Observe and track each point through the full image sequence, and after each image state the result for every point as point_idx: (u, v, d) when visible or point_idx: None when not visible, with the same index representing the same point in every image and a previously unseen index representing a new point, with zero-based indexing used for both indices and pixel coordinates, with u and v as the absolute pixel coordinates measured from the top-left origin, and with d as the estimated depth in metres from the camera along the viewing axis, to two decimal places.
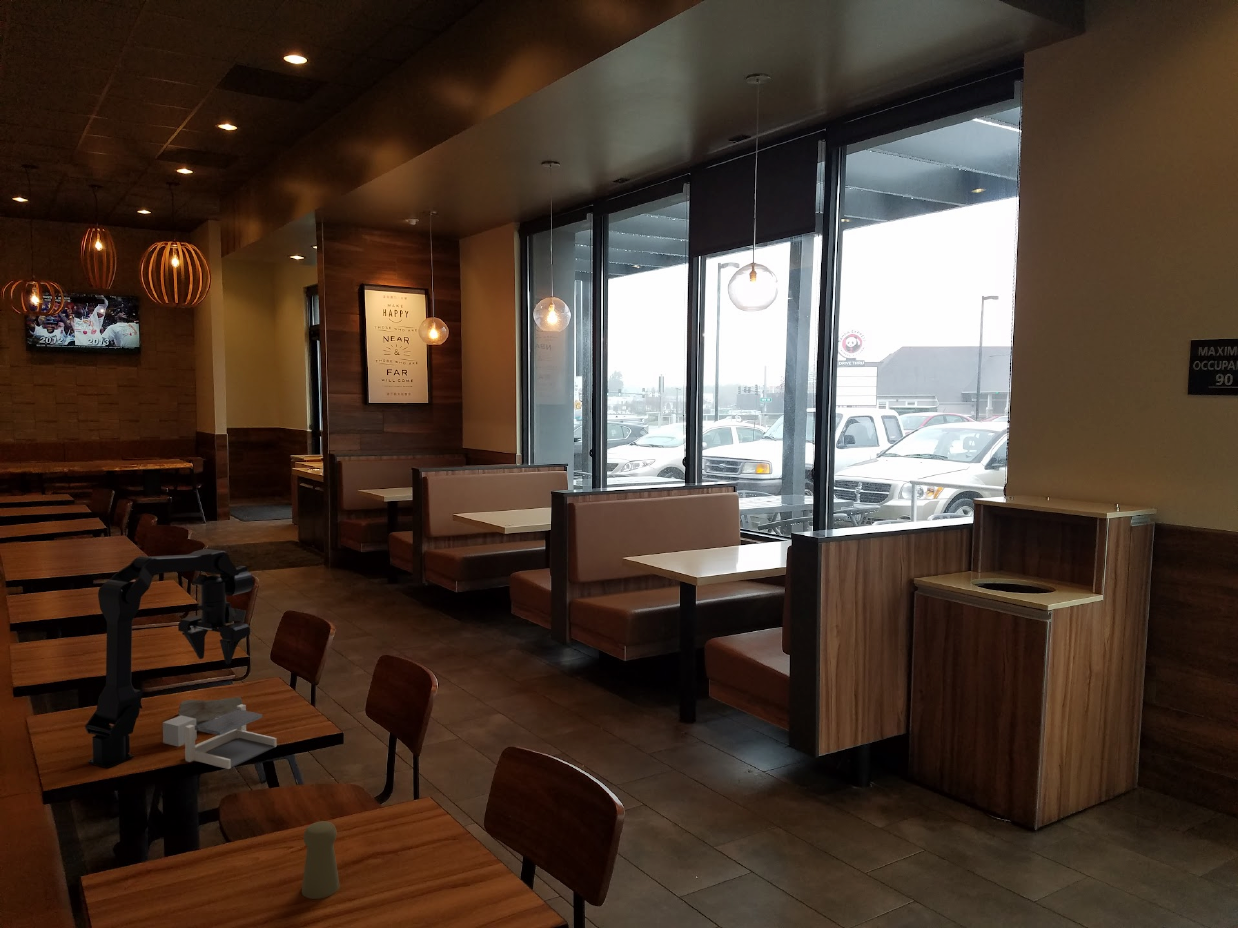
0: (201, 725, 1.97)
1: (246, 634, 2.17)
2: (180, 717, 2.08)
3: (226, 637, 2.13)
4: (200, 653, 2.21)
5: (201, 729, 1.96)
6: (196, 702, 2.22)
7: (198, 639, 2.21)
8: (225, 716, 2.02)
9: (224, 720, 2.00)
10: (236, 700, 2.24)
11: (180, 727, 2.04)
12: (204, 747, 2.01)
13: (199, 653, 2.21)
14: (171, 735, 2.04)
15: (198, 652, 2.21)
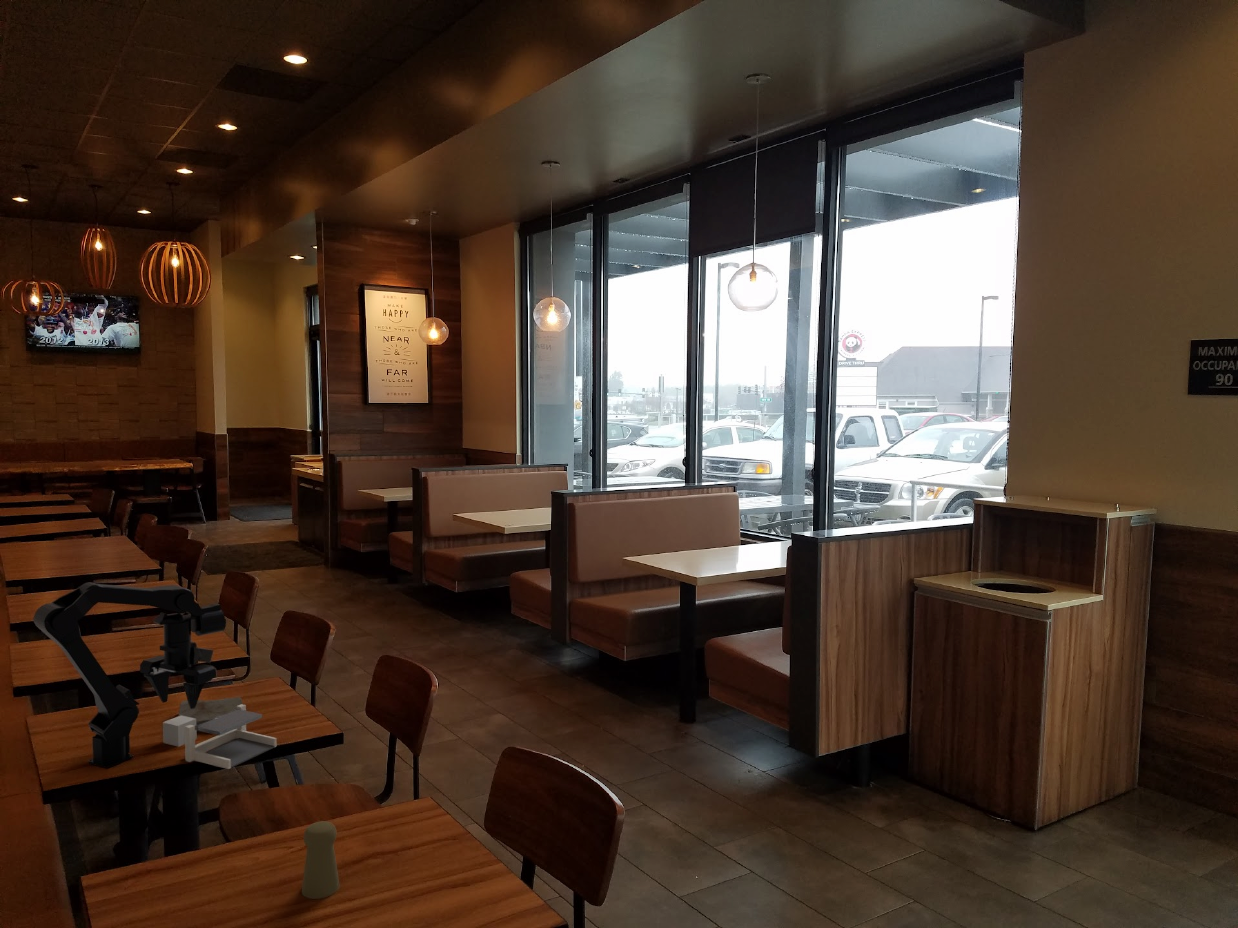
0: (201, 725, 1.97)
1: (212, 677, 2.03)
2: (180, 717, 2.08)
3: (190, 681, 2.00)
4: (163, 696, 2.07)
5: (201, 729, 1.96)
6: None
7: (161, 682, 2.07)
8: (225, 716, 2.02)
9: (224, 720, 2.00)
10: (236, 700, 2.24)
11: (180, 727, 2.04)
12: (204, 747, 2.01)
13: (162, 696, 2.07)
14: (171, 735, 2.04)
15: (161, 695, 2.07)
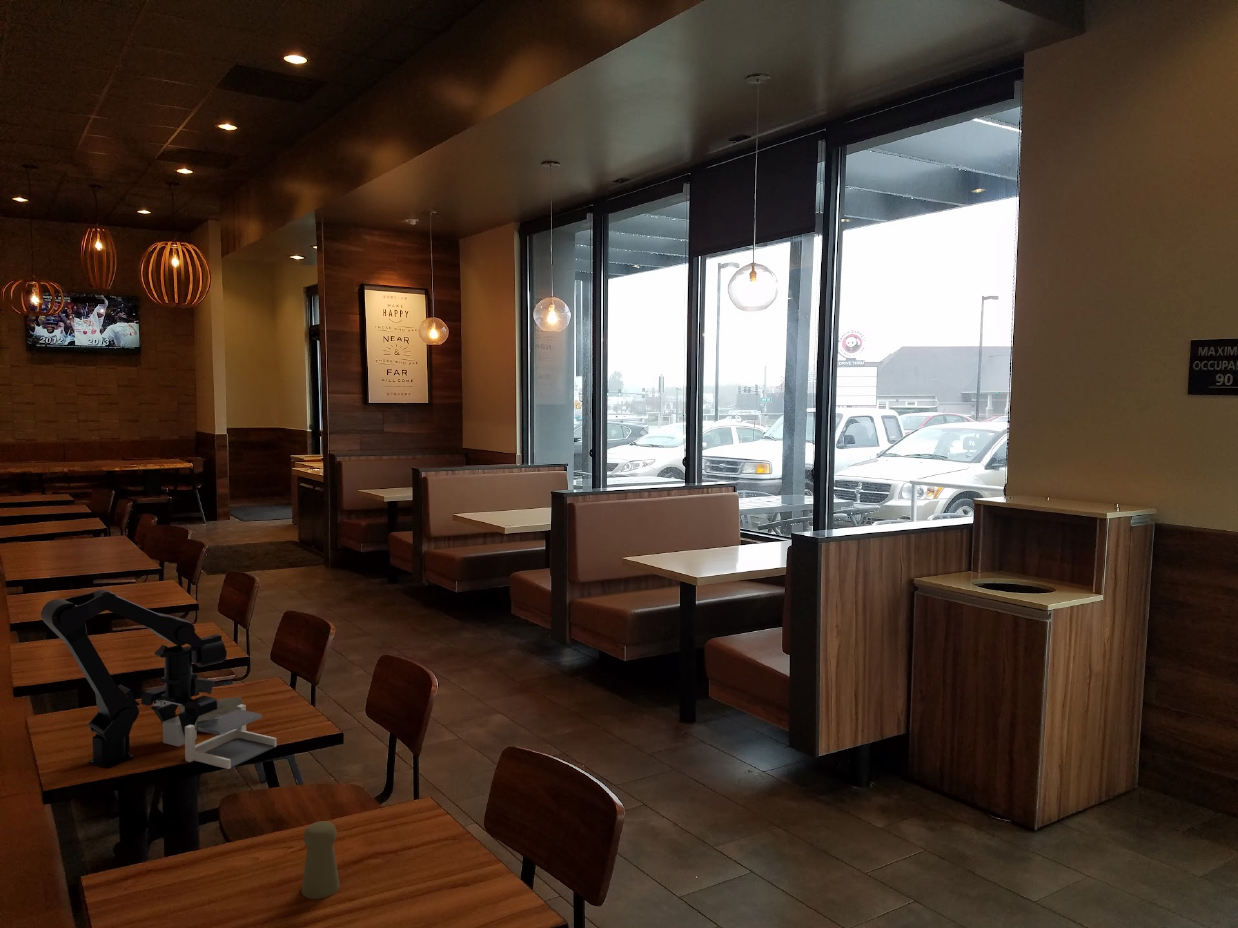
0: (201, 725, 1.97)
1: (213, 709, 2.04)
2: None
3: (191, 713, 2.00)
4: None
5: (201, 729, 1.96)
6: None
7: (168, 714, 2.07)
8: (225, 716, 2.02)
9: (224, 720, 2.00)
10: (236, 700, 2.24)
11: (180, 727, 2.04)
12: (204, 747, 2.01)
13: None
14: (171, 735, 2.04)
15: None
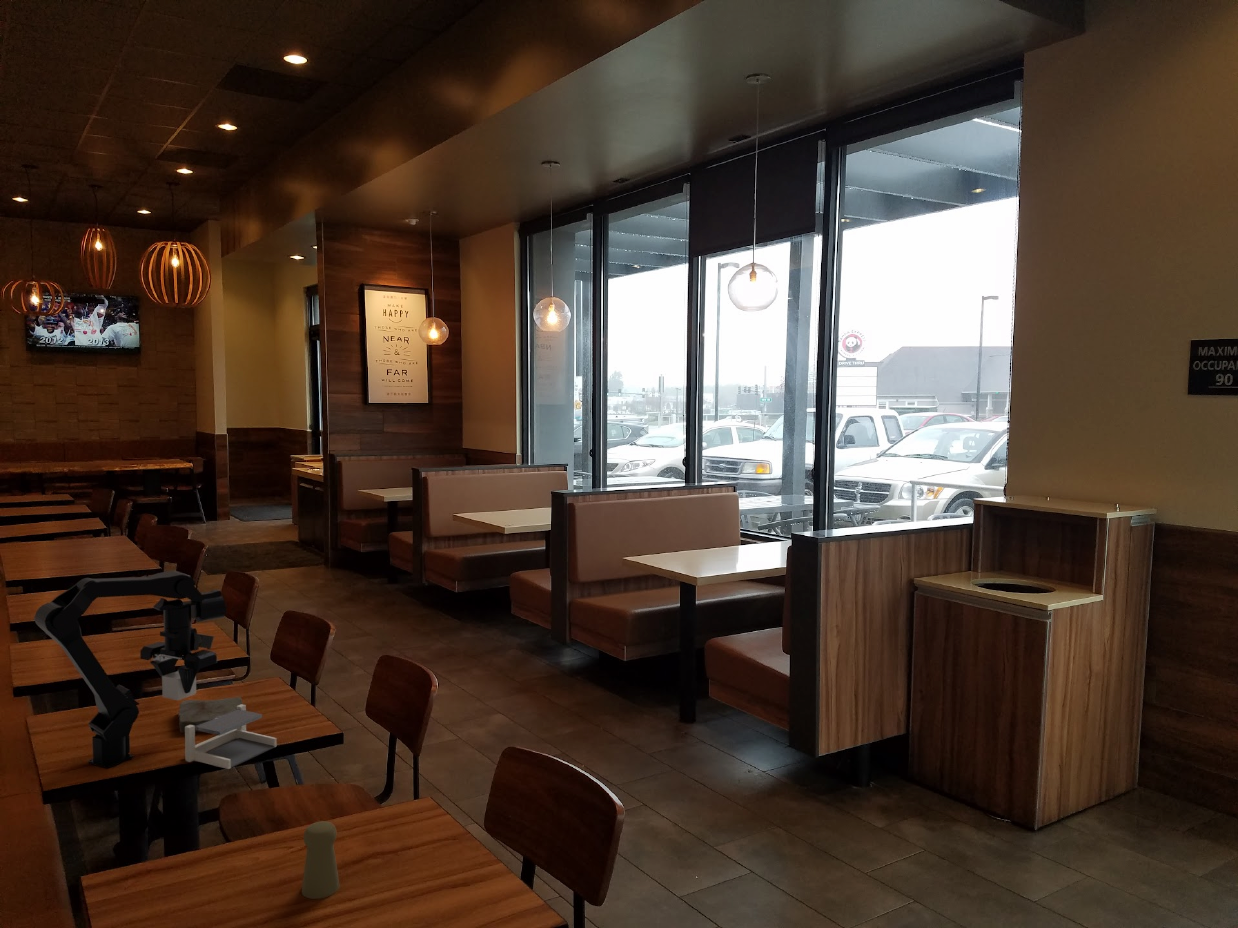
0: (201, 725, 1.97)
1: (212, 662, 2.03)
2: None
3: (190, 666, 1.99)
4: None
5: (201, 729, 1.96)
6: (196, 702, 2.22)
7: (168, 669, 2.06)
8: (225, 716, 2.02)
9: (224, 720, 2.00)
10: (236, 700, 2.24)
11: (180, 681, 2.03)
12: (204, 747, 2.01)
13: None
14: (170, 689, 2.03)
15: None
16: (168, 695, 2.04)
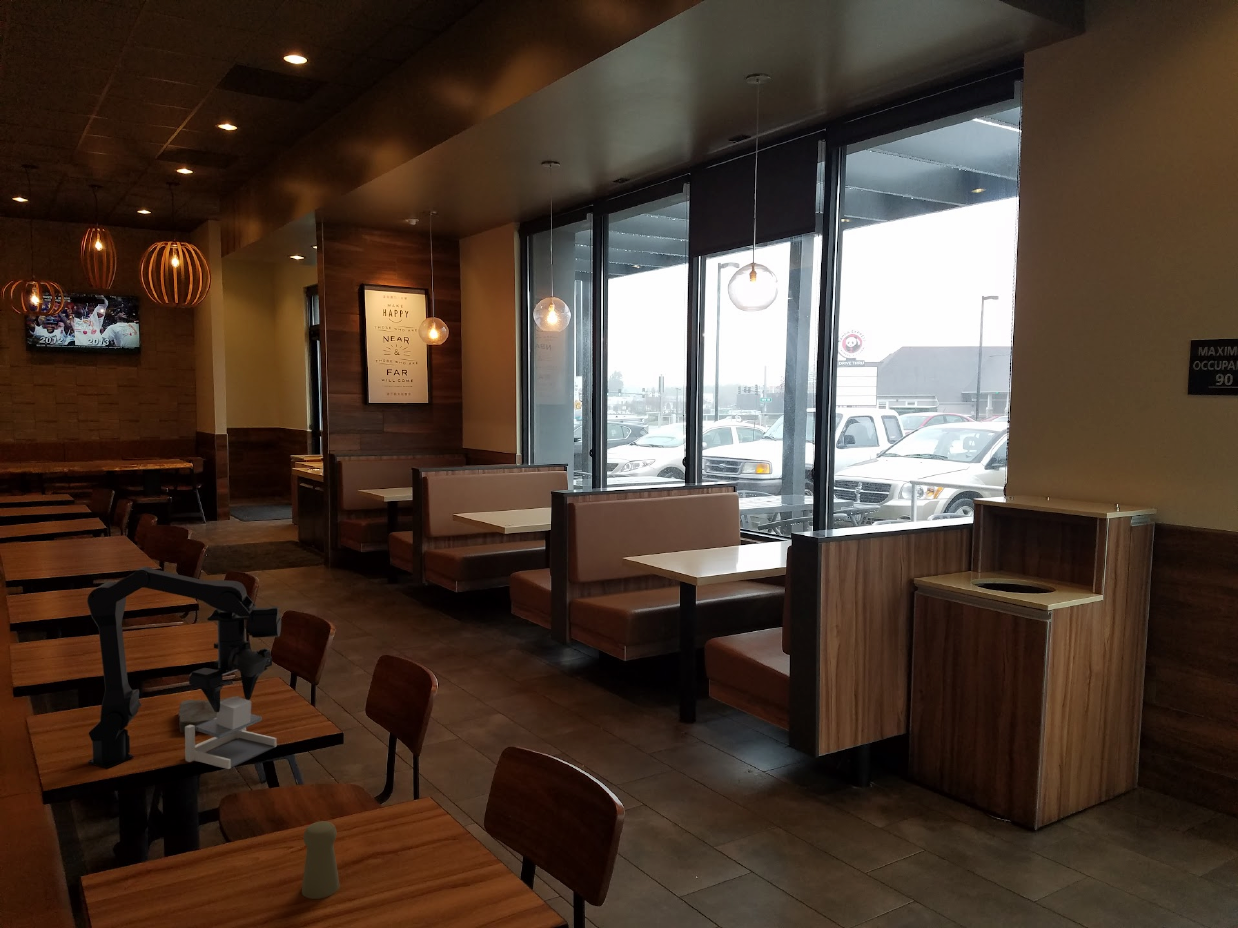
0: (201, 725, 1.97)
1: (202, 685, 1.90)
2: (244, 701, 2.00)
3: None
4: (245, 693, 2.04)
5: (201, 730, 1.96)
6: (196, 702, 2.22)
7: (247, 678, 2.04)
8: None
9: None
10: None
11: None
12: (204, 747, 2.01)
13: (245, 692, 2.04)
14: None
15: (244, 691, 2.04)
16: None
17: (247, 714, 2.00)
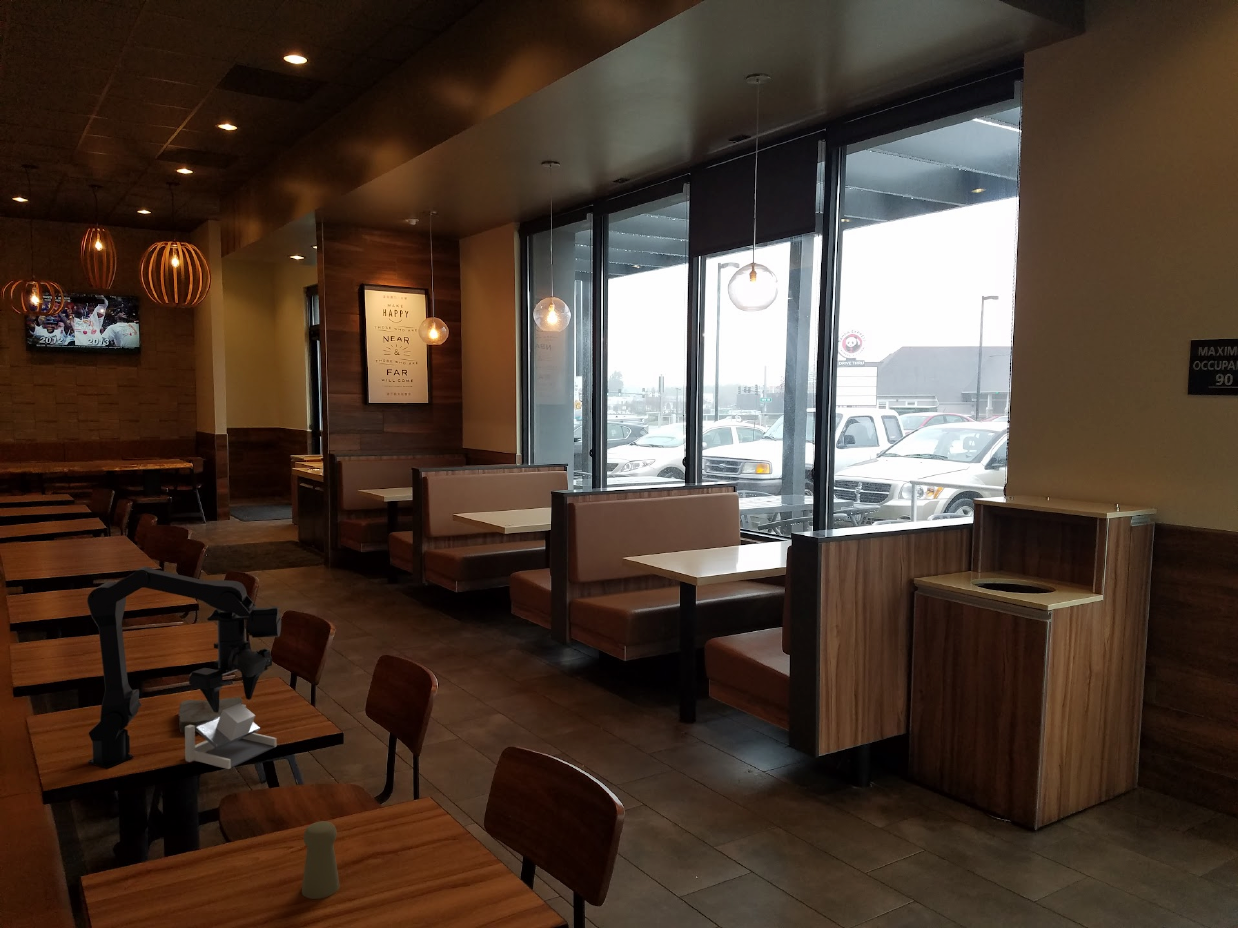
0: (201, 726, 1.97)
1: (202, 685, 1.90)
2: (248, 714, 2.00)
3: None
4: (246, 693, 2.04)
5: (200, 733, 1.96)
6: (196, 702, 2.22)
7: (248, 678, 2.04)
8: None
9: None
10: (236, 700, 2.24)
11: (223, 714, 1.98)
12: (204, 747, 2.01)
13: (246, 692, 2.04)
14: None
15: (245, 691, 2.04)
16: None
17: (248, 726, 2.00)
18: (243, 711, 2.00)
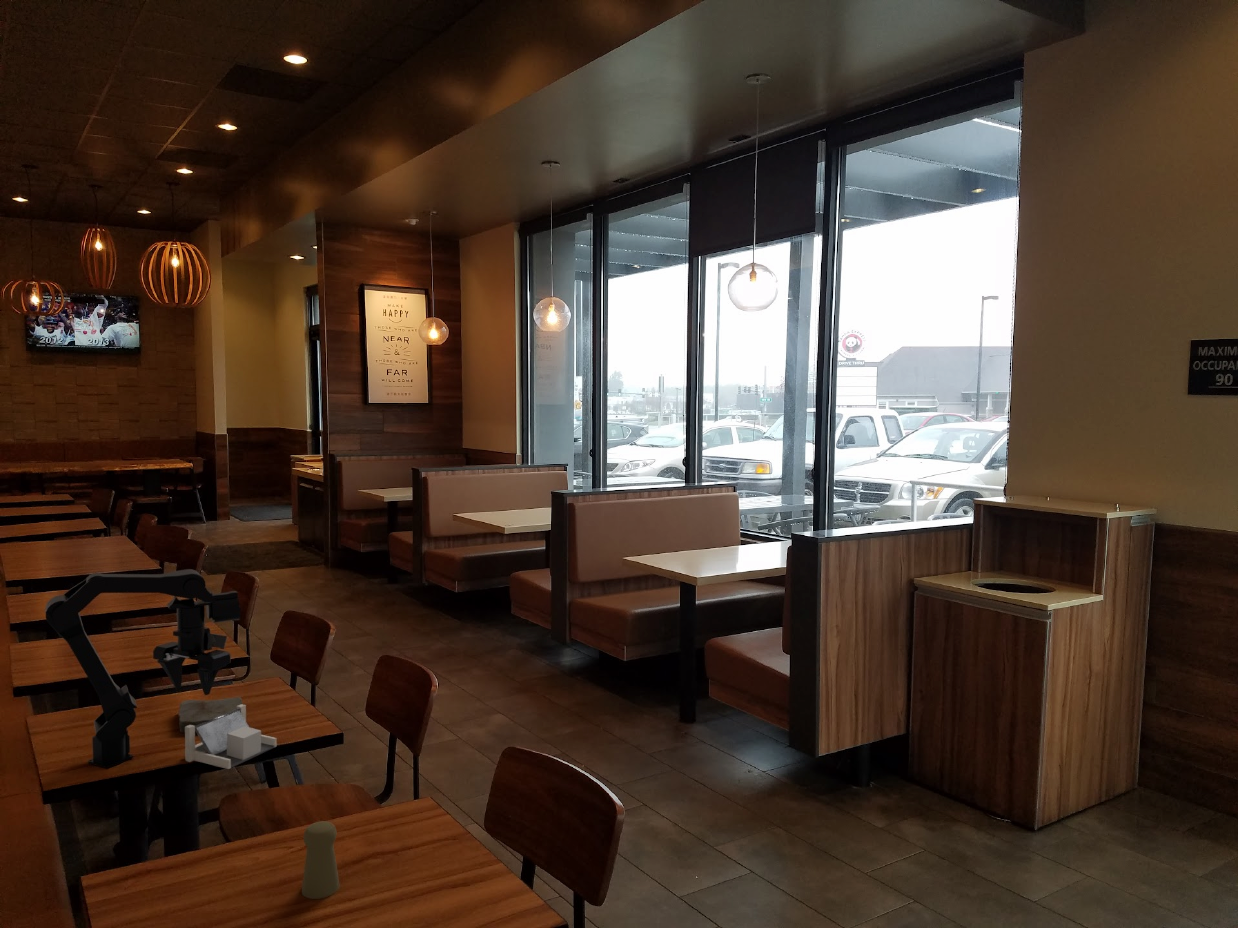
0: (201, 728, 1.97)
1: (226, 662, 2.00)
2: (257, 748, 2.00)
3: (204, 666, 1.97)
4: (177, 682, 2.05)
5: (199, 735, 1.96)
6: (196, 702, 2.22)
7: (175, 668, 2.05)
8: (224, 721, 2.03)
9: (222, 730, 2.01)
10: (236, 700, 2.24)
11: (241, 740, 1.96)
12: (204, 747, 2.01)
13: (175, 683, 2.04)
14: (242, 732, 1.99)
15: (175, 681, 2.04)
16: (240, 729, 2.00)
17: None
18: (256, 743, 1.99)
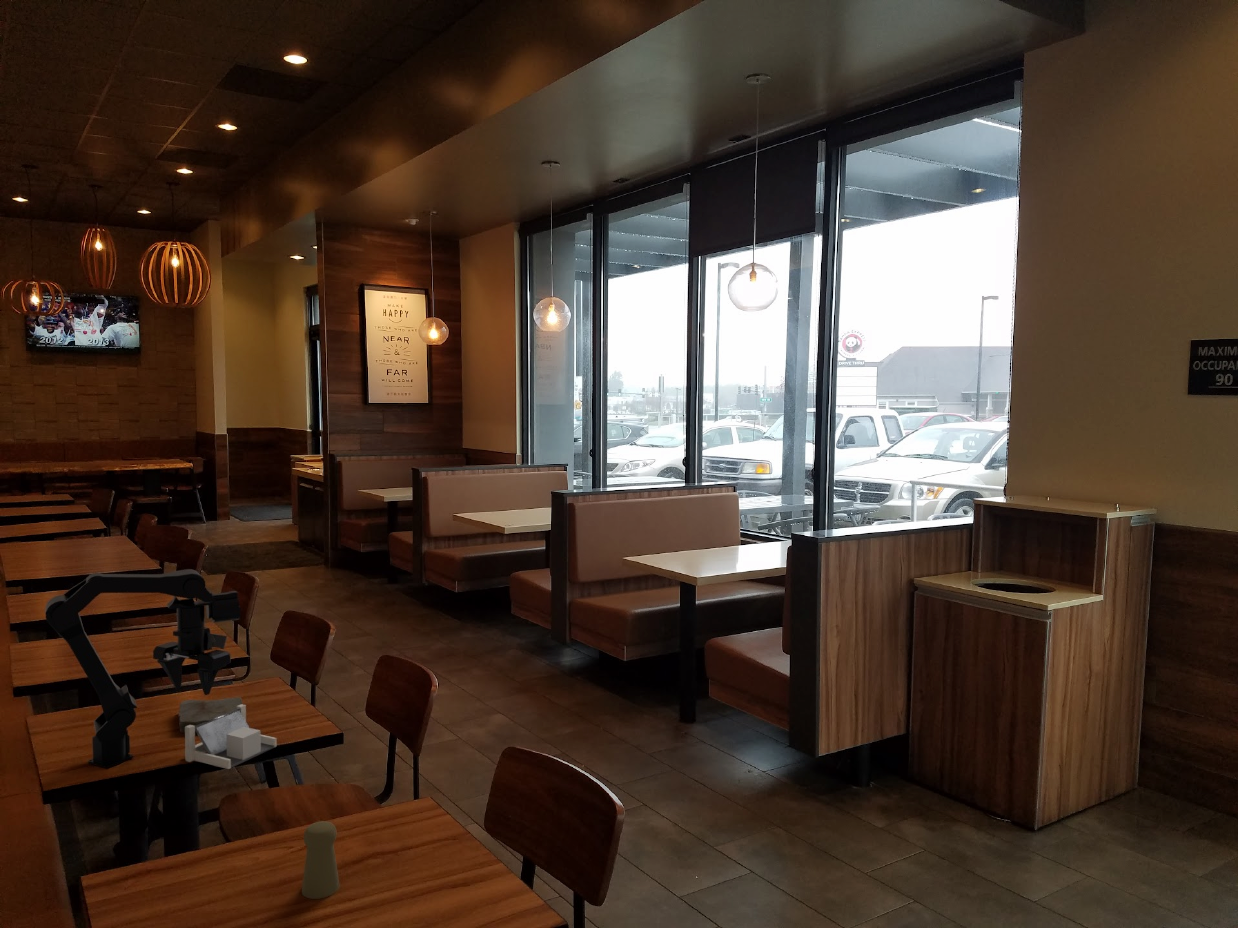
0: (201, 728, 1.97)
1: (226, 662, 2.00)
2: (256, 748, 2.00)
3: (204, 666, 1.97)
4: (177, 682, 2.05)
5: (199, 735, 1.96)
6: (196, 702, 2.22)
7: (175, 668, 2.05)
8: (224, 721, 2.03)
9: (222, 730, 2.01)
10: (236, 700, 2.24)
11: (240, 740, 1.96)
12: (204, 747, 2.01)
13: (175, 683, 2.04)
14: (241, 732, 1.99)
15: (175, 681, 2.04)
16: (239, 730, 2.00)
17: None
18: (255, 743, 1.99)
